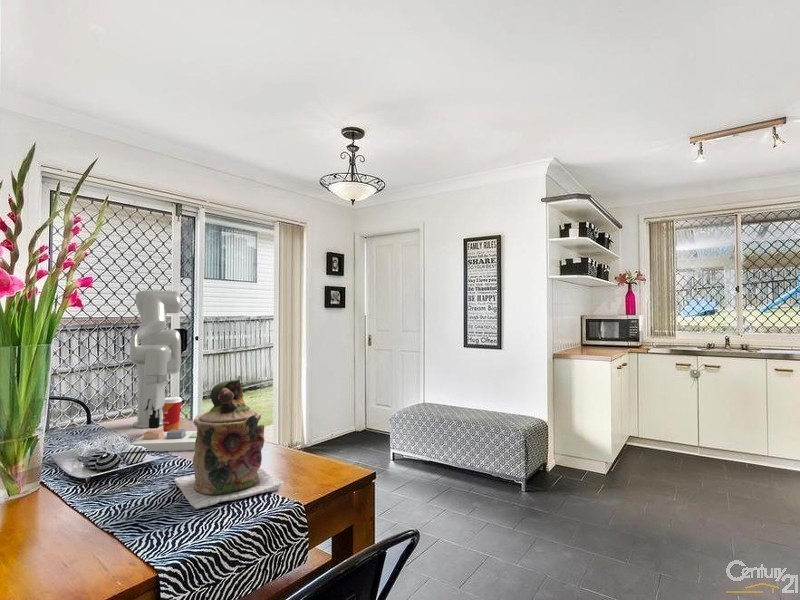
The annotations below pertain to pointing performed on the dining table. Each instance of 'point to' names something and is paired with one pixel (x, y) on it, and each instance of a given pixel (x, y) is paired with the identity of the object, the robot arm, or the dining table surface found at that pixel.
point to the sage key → (193, 435)
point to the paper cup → (171, 413)
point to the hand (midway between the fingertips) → (154, 427)
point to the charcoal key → (176, 433)
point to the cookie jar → (227, 451)
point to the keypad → (167, 443)
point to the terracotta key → (153, 434)
